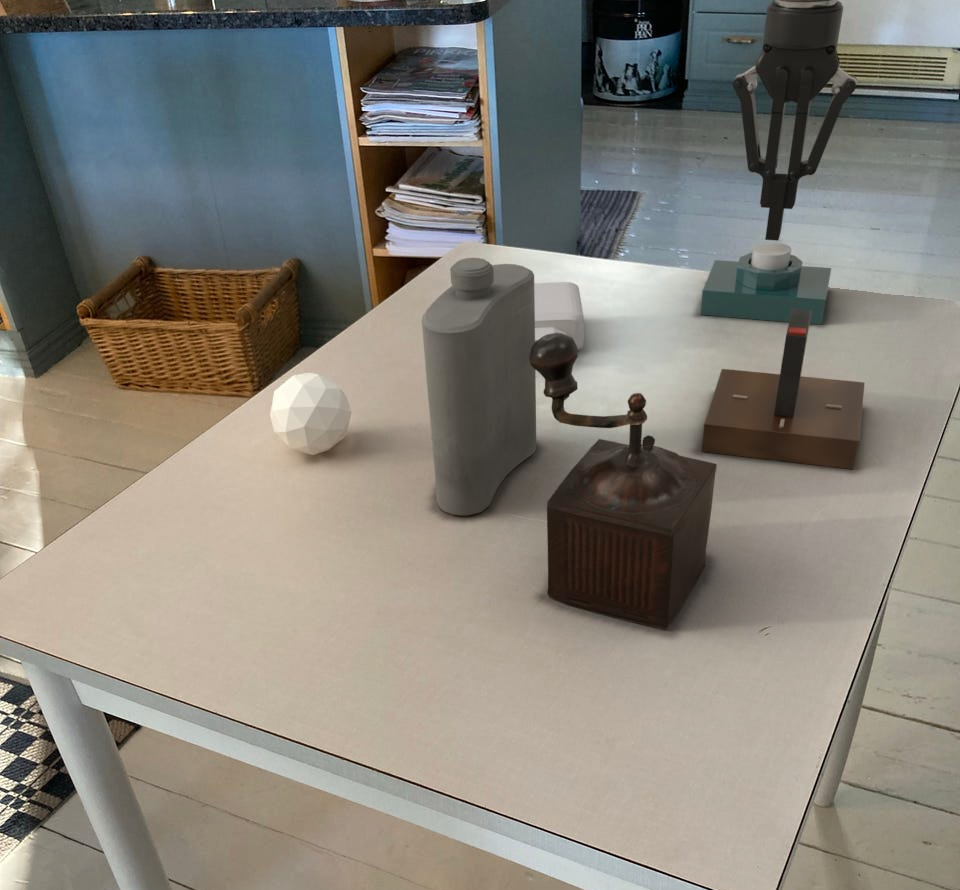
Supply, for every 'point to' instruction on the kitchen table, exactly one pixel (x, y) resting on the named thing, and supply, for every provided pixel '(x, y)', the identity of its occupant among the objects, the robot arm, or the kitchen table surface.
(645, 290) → the kitchen table surface
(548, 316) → the charger
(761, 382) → the brown lever base block
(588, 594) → the manual coffee grinder
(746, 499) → the kitchen table surface
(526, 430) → the flask
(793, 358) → the dark upright slab
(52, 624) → the kitchen table surface
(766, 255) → the white push button
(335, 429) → the geometric ball
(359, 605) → the kitchen table surface
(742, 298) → the teal nut fixture block
